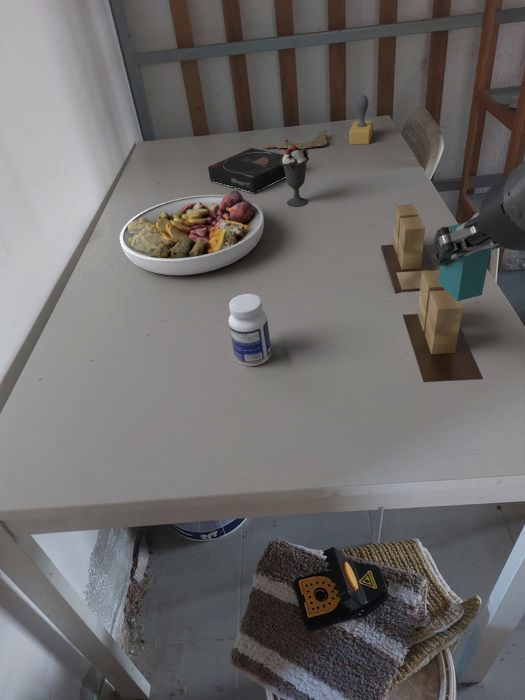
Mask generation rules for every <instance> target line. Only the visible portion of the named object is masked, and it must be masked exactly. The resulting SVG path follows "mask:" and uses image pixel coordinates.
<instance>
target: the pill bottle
mask: <svg viewBox="0 0 525 700" xmlns="http://www.w3.org/2000/svg"><path fill="white" fill-rule="evenodd" d="M228 307H229V312H230V315H229V317H228V327H229V333H230V339H231V343H232V349H233V354H234V358H235V360H236V361H237V362H238V363H239V364H240V365H242V366H245V367H255V366H256V367H257V366H259V365H262V364H264V363H266V362H268V360H269V359H270V357H271V355H272V344H271V337H270V330H269V329H270V328H269V322H268V317H267V313H266V312H265V310H264V309H263V304H262V298H261V297H260V296H259V295H257V294H254V293H243V294H239V295H236V296H235V297H233V298H232V299H231V300H230V301H229V303H228Z"/></svg>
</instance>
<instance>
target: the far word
mask: <svg viewBox="0 0 525 700" xmlns="http://www.w3.org/2000/svg"><path fill="white" fill-rule="evenodd" d="M393 217H394V219H393V233H392V244H382V245H380V250H381V252H382V256H383V259H384V263H385V265H386V269H387V272H388V275H389V280H390V282H391V285H392V289H393V292H394V294H395V295H397V294H401V293H415V292H420V286H421V277H422V271H435V267H434V265H433V263H432V261H431V258H430V257H429V254H428V251H427V249H426V247H425V245H424V242H425V235H426V234H425V233H426V227H425V225H424V222H423V220H422V219H421V216H419V212H418V210H417V208H416V207H415V204H414V203H407V204H396V205H394V216H393Z"/></svg>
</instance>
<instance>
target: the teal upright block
mask: <svg viewBox="0 0 525 700" xmlns="http://www.w3.org/2000/svg"><path fill="white" fill-rule="evenodd" d="M466 222H467V221H466ZM466 222H462V223H456V224H453V225H450V226H448V227H449V229H450V228H452V230H453V232H455V231H456V229H457V227H459V226H461V225H462V224H464V223H466ZM458 243H459V247H460V250H461V245H460V242H458ZM491 251H492V250H491V248H488V249H484V250H482V251H480V252H478V253H476V254H473V255H468V256H465V255H463V256H461V257H459V258H458V259H456V260H454V261H452V262H451V263H449V264H448V265H445V266H440V265H439V270H440V273H439V281H438V284H439V285H440V286H441V287H443V288H444V289H445V290H446V291H447V292H448V293H449V294H450V295H451V296H452V297H453V298H454V299H456V300H457V301H460V302H461V301H465V300H469V299H472V298H476V297H481V296H483V291H484V286H485V281H486V276H487V271H488V265H489V259H490V255H491Z"/></svg>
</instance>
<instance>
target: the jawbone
mask: <svg viewBox="0 0 525 700" xmlns="http://www.w3.org/2000/svg"><path fill="white" fill-rule="evenodd" d="M328 138H329V137H328V130H327V129H325V130H320V131H319V132H318V133H317V136H316V138H314V140H311V141H297V142H295V141H293V142H292V141H291V142H287V143H288V148H290V149H291V147H292V145H294V146H296V147H298V148H300V149H302V150H304V148H305V147H306V148H309V149H313V148H320V147H325V146H327V144H328ZM326 139H327V140H326ZM287 143H285V144H269V143H265V144H264V145H263V146H262V148H263V149H264V148H265V149H266V148H267V149H270V148H273V147H277V148H276V149H280V148H287ZM290 143H291V144H292V145H291V144H290ZM312 147H313V148H312ZM273 149H274V148H273Z"/></svg>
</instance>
